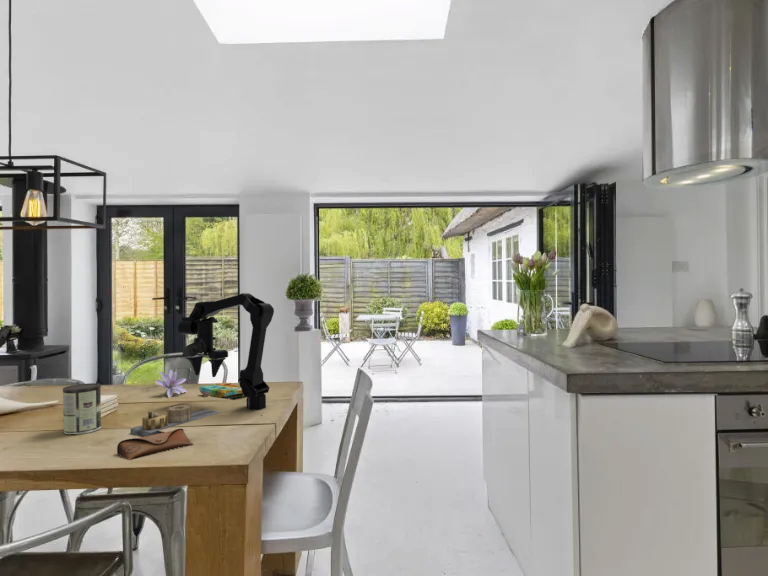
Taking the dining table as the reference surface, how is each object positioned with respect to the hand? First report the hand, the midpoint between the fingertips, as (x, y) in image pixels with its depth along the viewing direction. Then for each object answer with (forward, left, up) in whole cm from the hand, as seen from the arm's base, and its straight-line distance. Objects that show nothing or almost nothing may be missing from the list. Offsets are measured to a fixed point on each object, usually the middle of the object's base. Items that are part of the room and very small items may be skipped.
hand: (205, 376), depth 175 cm
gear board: (-10, +19, -12) cm, 25 cm away
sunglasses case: (-26, +38, -13) cm, 48 cm away
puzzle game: (+10, -18, -13) cm, 24 cm away
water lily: (+32, -9, -12) cm, 36 cm away
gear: (-10, +19, -10) cm, 24 cm away
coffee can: (+12, +38, -12) cm, 42 cm away
